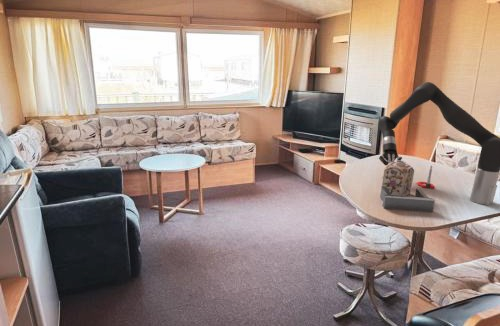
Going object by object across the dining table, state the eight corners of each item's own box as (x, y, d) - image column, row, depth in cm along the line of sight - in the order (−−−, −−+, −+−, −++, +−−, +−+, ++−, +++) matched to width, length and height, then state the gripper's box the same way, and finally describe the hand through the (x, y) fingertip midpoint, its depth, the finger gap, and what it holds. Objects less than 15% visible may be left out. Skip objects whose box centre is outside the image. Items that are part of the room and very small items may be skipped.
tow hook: (414, 182, 197) (420, 187, 188) (418, 161, 194) (424, 165, 185) (430, 184, 196) (436, 189, 187) (433, 162, 193) (440, 166, 184)
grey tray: (377, 196, 174) (378, 184, 172) (421, 199, 171) (423, 187, 169) (384, 208, 160) (385, 196, 158) (432, 212, 157) (435, 199, 155)
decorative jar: (411, 193, 179) (416, 161, 174) (402, 199, 171) (407, 166, 166) (389, 187, 187) (394, 157, 182) (379, 192, 179) (384, 160, 174)
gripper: (399, 149, 199) (401, 175, 191) (376, 148, 201) (377, 173, 193) (403, 142, 192) (405, 169, 184) (379, 141, 194) (381, 167, 186)
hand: (391, 171), depth 188 cm, fingers closed
